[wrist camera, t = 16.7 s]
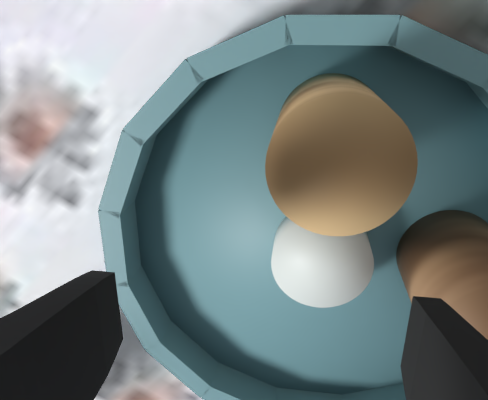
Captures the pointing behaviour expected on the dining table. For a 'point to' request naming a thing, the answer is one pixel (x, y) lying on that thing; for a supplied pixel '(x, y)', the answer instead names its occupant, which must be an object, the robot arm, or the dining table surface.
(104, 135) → the dining table surface
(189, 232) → the ring tray
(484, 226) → the brown wooden peg
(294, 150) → the oak bead
